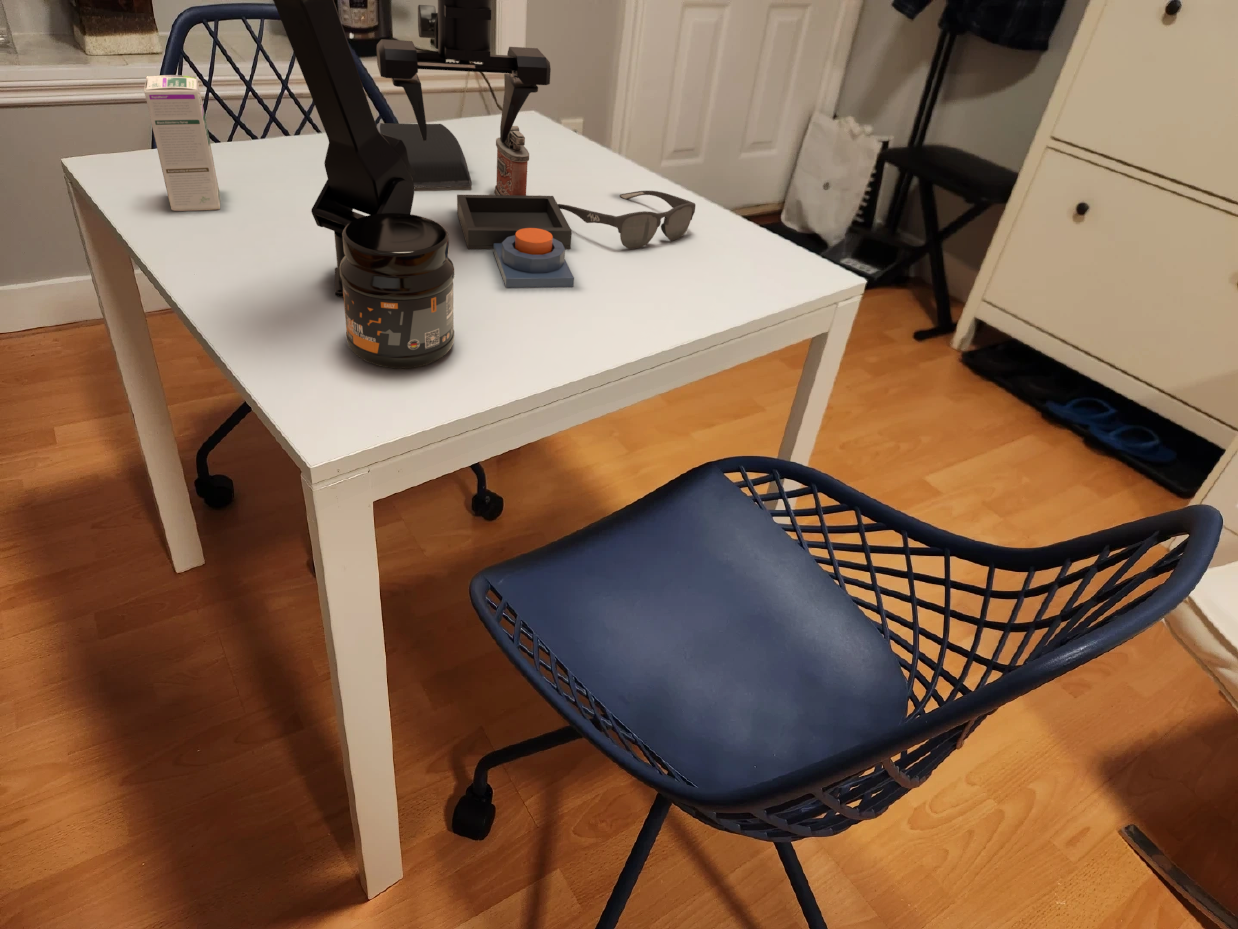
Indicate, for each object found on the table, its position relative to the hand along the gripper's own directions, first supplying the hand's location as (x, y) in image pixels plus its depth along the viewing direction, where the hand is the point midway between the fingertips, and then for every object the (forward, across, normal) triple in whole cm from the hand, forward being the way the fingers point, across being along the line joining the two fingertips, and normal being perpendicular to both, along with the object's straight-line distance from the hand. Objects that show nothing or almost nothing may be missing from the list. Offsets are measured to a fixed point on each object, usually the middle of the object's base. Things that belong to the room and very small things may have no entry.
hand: (464, 140), depth 102 cm
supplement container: (+12, +10, +26) cm, 31 cm away
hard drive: (+12, +2, -27) cm, 29 cm away
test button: (+10, -7, +9) cm, 15 cm away
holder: (+12, -7, -3) cm, 14 cm away
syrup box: (+12, +32, -12) cm, 37 cm away
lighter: (+12, -9, -13) cm, 20 cm away
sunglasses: (+12, -22, -5) cm, 26 cm away
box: (+12, -7, +9) cm, 17 cm away
